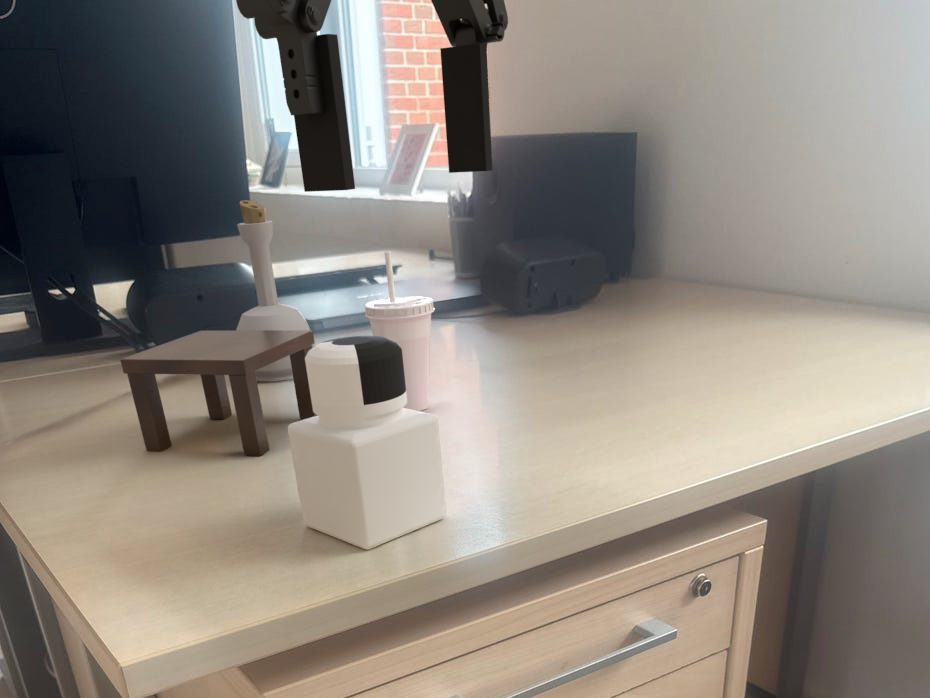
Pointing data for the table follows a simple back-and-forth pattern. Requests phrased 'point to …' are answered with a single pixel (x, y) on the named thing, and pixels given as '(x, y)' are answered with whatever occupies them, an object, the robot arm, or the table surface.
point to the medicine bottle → (365, 446)
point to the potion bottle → (266, 290)
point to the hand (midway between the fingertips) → (407, 181)
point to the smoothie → (406, 336)
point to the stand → (219, 378)
